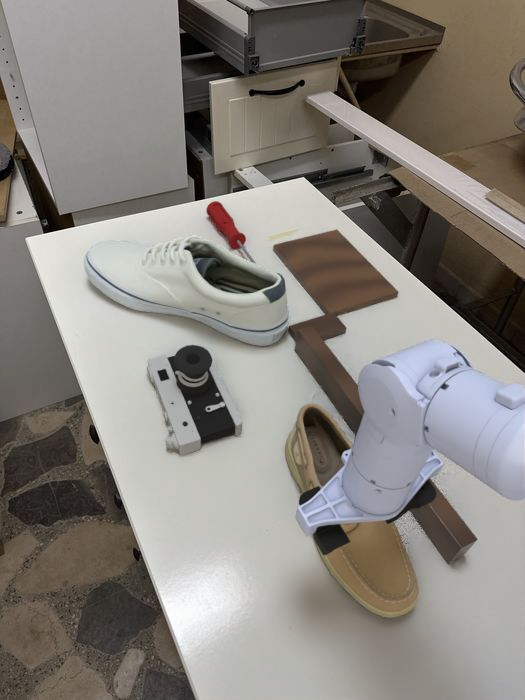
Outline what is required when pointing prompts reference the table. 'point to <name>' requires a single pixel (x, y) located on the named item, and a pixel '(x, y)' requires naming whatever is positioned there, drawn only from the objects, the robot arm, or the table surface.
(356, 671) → the table surface
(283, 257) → the wooden paddle board
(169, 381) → the camera
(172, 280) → the sneaker
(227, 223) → the screwdriver
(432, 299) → the table surface
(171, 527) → the table surface
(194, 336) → the table surface
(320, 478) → the boat shoe
